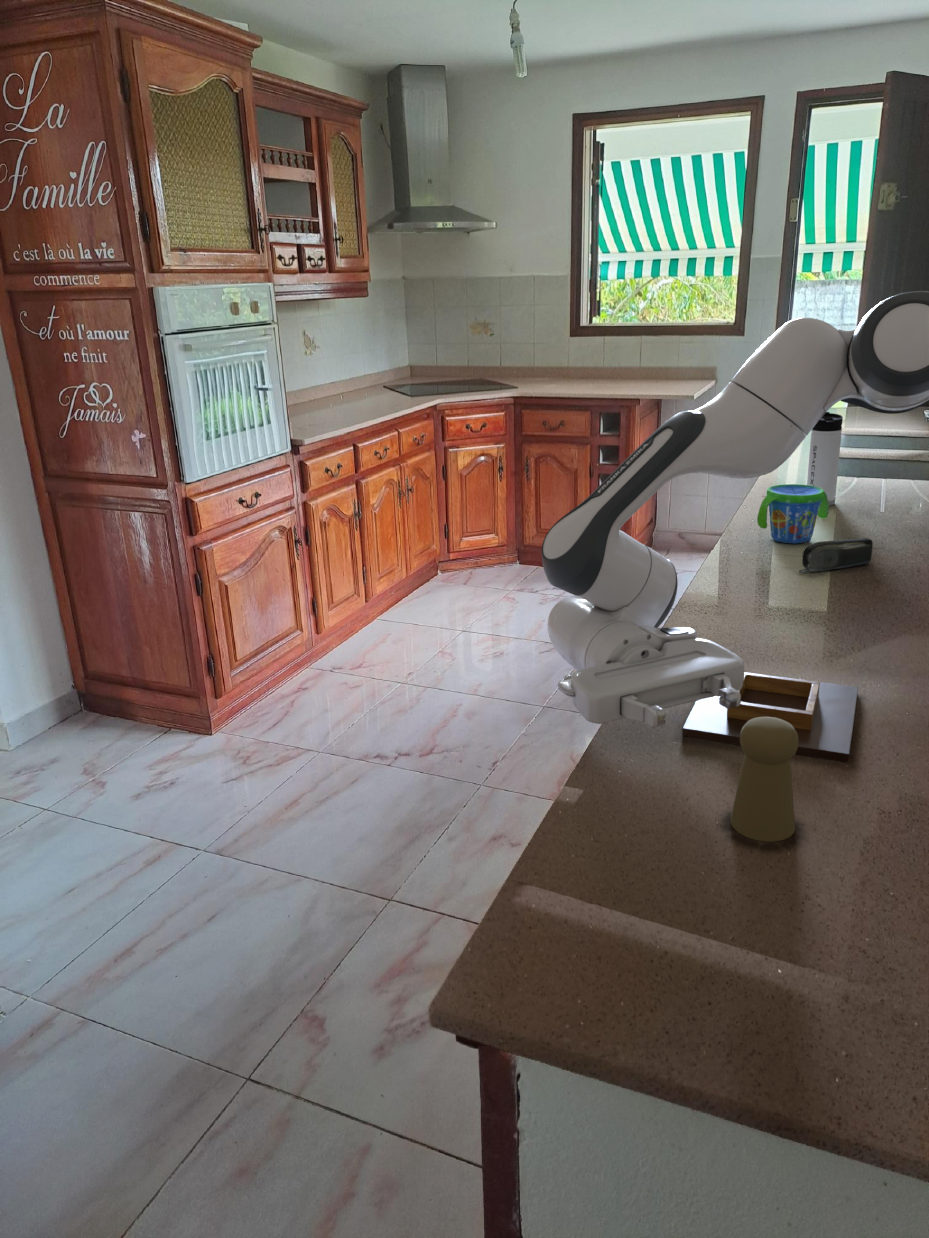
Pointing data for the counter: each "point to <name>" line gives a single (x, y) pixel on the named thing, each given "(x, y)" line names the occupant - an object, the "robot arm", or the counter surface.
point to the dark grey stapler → (837, 554)
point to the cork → (766, 781)
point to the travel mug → (825, 454)
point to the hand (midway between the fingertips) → (698, 710)
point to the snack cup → (793, 511)
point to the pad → (783, 713)
